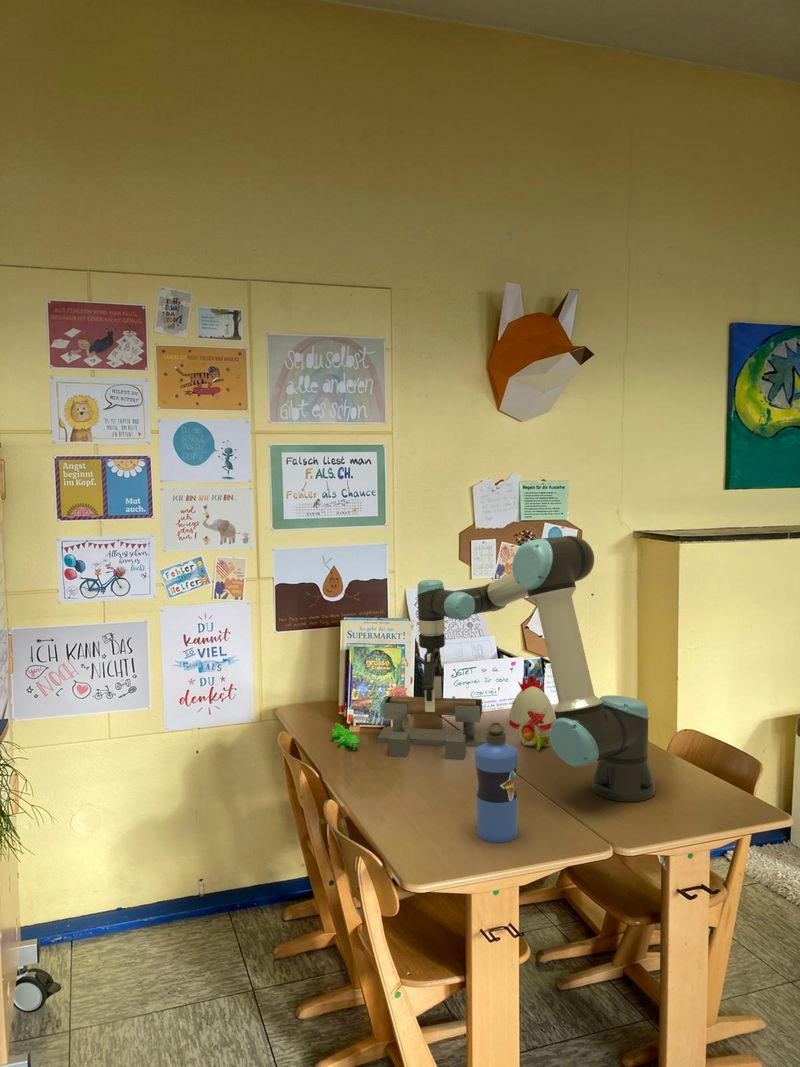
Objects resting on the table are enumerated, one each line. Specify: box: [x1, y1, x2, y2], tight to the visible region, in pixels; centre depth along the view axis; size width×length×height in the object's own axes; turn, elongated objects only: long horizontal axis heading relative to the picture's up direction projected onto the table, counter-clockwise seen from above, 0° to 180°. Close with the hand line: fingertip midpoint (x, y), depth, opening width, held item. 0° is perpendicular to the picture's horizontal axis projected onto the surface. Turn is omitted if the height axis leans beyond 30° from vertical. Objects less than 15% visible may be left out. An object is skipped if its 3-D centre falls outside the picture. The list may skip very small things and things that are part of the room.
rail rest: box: [387, 732, 467, 761], centre depth 234 cm, size 6×21×5 cm, turn 79°
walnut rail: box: [390, 695, 477, 717], centre depth 245 cm, size 4×25×4 cm, turn 79°
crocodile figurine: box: [331, 722, 361, 751], centre depth 245 cm, size 7×18×4 cm, turn 23°
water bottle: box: [474, 722, 519, 844], centre depth 183 cm, size 9×9×25 cm
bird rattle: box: [518, 711, 550, 752], centre depth 237 cm, size 6×11×9 cm
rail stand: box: [376, 695, 489, 748], centre depth 245 cm, size 9×32×12 cm, turn 79°
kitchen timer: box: [508, 675, 556, 732], centre depth 257 cm, size 14×14×15 cm
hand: (433, 704), depth 244 cm, fingers open, 13 cm apart
